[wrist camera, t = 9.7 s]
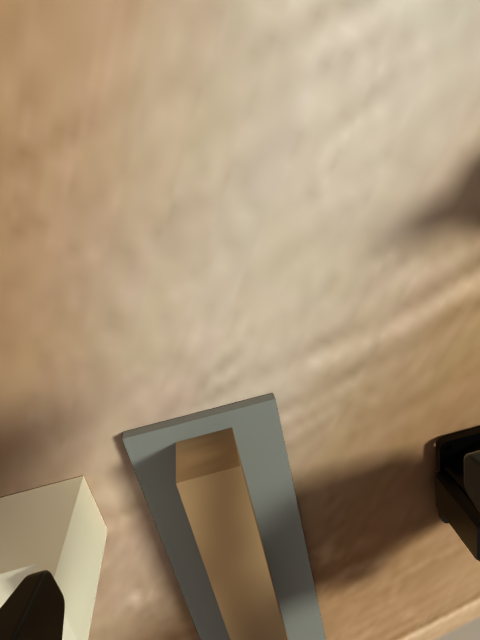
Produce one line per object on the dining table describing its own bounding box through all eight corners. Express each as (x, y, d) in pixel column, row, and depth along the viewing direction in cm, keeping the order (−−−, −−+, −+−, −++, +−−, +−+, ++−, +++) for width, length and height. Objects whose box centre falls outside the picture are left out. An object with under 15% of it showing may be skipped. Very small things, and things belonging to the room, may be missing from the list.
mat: (273, 392, 23) (275, 398, 22) (330, 664, 32) (332, 673, 31) (123, 431, 22) (122, 439, 22) (225, 696, 31) (226, 706, 31)
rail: (232, 427, 22) (240, 465, 19) (298, 675, 31) (310, 727, 28) (175, 442, 22) (175, 483, 19) (257, 687, 30) (265, 741, 28)
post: (83, 475, 23) (50, 590, 17) (107, 529, 24) (85, 653, 18) (-38, 507, 22) (-116, 637, 16) (-6, 560, 24) (-66, 696, 18)
